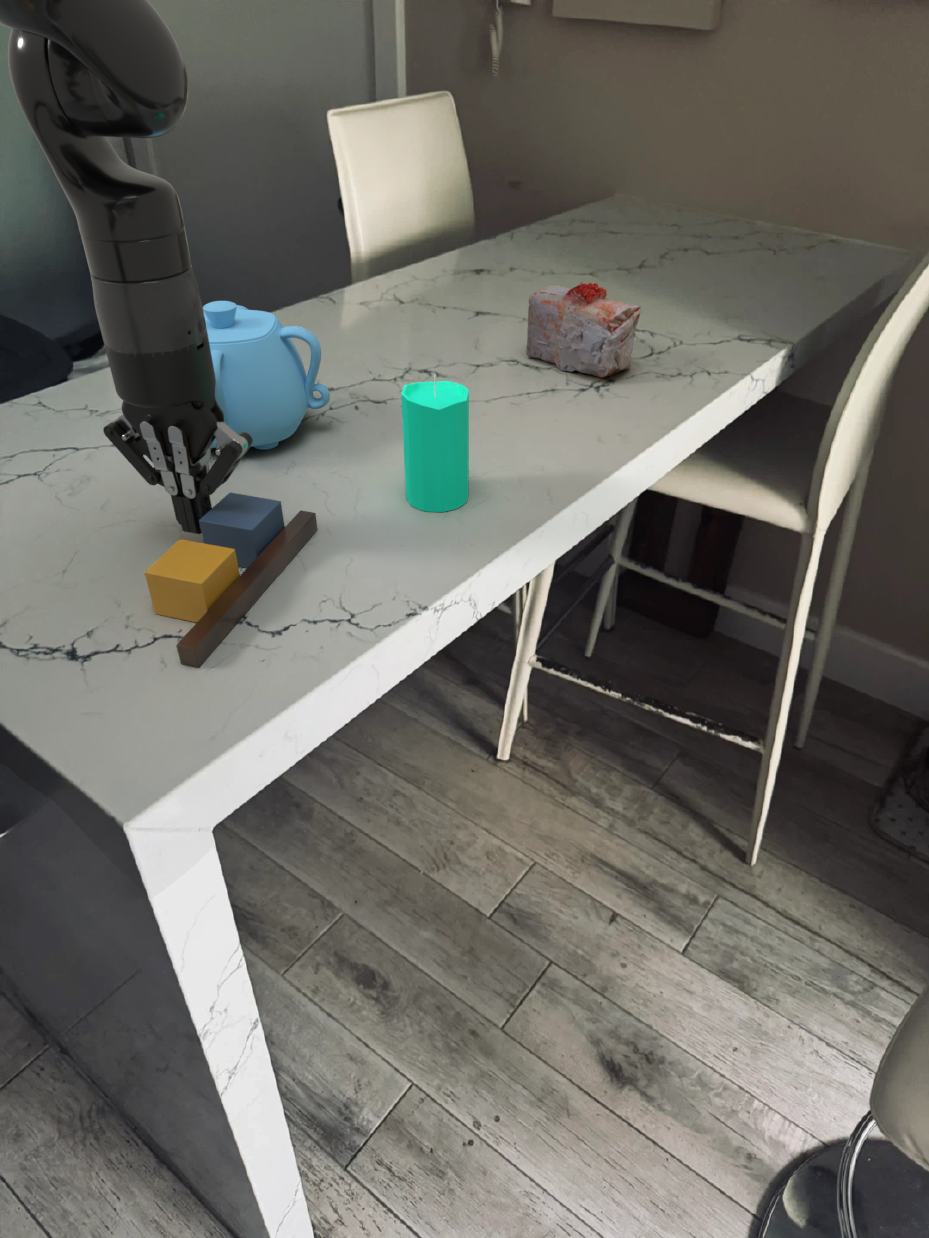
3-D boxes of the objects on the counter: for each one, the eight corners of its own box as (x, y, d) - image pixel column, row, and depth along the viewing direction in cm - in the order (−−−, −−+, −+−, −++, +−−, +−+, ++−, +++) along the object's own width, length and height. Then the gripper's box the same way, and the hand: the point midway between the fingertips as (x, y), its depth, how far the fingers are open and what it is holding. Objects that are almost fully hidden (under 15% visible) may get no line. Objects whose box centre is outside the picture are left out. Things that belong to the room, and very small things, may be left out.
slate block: (259, 570, 73) (252, 530, 71) (207, 560, 74) (198, 520, 72) (287, 540, 77) (281, 500, 74) (237, 531, 78) (229, 491, 76)
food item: (642, 368, 109) (652, 287, 103) (608, 388, 104) (616, 304, 98) (552, 343, 116) (557, 266, 110) (516, 361, 111) (519, 281, 105)
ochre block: (211, 626, 67) (201, 583, 65) (154, 614, 68) (143, 572, 66) (243, 590, 71) (235, 548, 68) (189, 579, 72) (179, 538, 70)
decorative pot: (270, 389, 104) (253, 271, 95) (345, 434, 94) (333, 306, 86) (139, 427, 95) (107, 301, 87) (206, 481, 85) (178, 344, 77)
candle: (395, 505, 82) (388, 382, 75) (421, 476, 86) (417, 358, 79) (454, 517, 80) (453, 393, 73) (478, 488, 84) (479, 368, 77)
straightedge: (198, 668, 63) (193, 649, 62) (180, 664, 64) (175, 644, 62) (317, 530, 78) (315, 512, 77) (302, 527, 79) (300, 510, 78)
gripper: (47, 338, 64) (106, 538, 75) (206, 358, 61) (243, 564, 72) (110, 306, 70) (156, 496, 80) (257, 324, 67) (285, 519, 77)
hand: (197, 528), depth 76 cm, fingers closed
